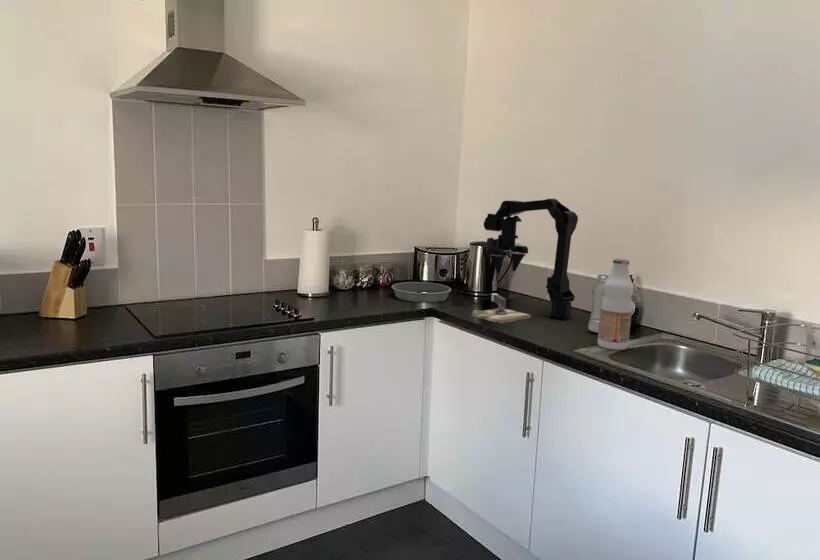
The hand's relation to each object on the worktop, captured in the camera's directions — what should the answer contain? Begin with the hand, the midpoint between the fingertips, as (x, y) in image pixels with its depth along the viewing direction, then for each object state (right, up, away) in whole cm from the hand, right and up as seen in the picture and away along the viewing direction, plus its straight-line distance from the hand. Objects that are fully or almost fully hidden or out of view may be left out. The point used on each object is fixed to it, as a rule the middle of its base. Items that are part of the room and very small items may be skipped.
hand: (506, 271), depth 272 cm
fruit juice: (+26, -25, -53) cm, 64 cm away
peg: (-5, -14, -15) cm, 21 cm away
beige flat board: (-6, -17, -18) cm, 25 cm away
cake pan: (-34, -11, +11) cm, 37 cm away
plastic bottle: (+27, -22, -35) cm, 49 cm away
